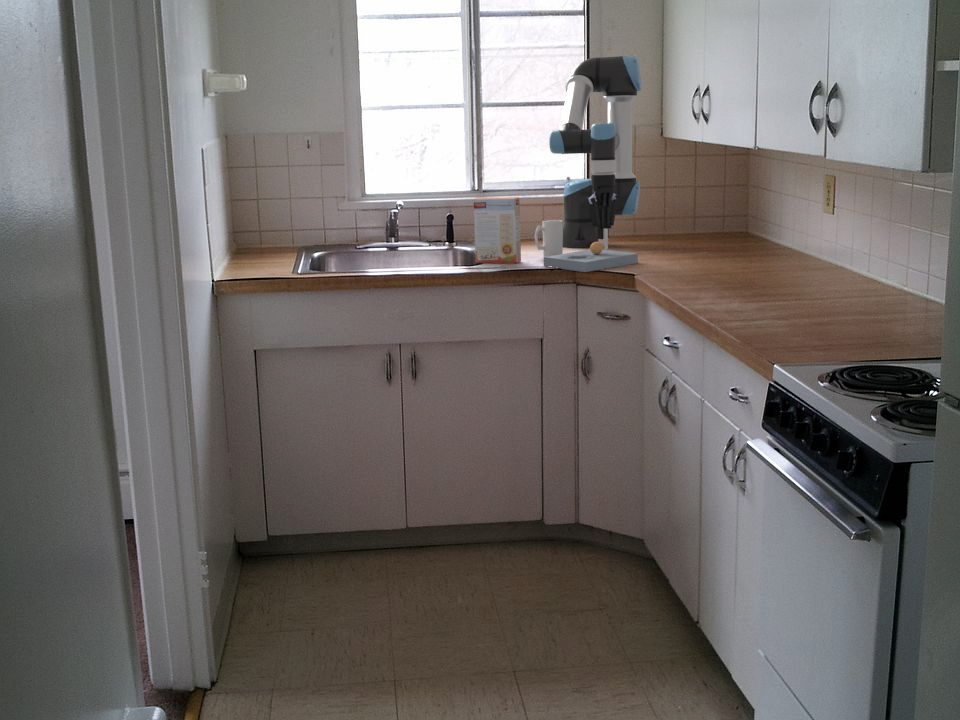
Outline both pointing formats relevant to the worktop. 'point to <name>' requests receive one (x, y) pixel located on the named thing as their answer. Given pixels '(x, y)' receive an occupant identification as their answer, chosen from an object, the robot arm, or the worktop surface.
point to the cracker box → (497, 230)
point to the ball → (596, 248)
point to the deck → (591, 260)
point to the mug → (550, 237)
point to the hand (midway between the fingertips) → (603, 249)
